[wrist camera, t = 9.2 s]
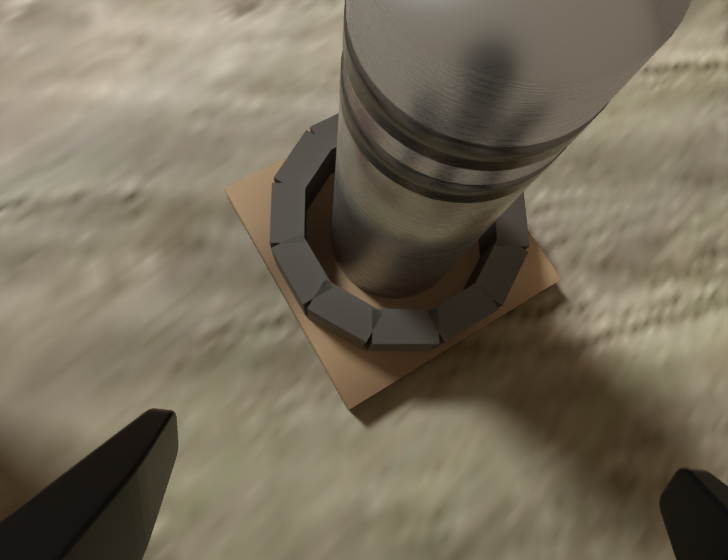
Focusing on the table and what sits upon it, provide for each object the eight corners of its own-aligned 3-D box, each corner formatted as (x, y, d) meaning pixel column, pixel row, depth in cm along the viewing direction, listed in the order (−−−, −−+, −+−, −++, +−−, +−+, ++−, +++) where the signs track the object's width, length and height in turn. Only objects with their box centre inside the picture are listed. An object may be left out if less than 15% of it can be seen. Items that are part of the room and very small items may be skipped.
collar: (550, 285, 20) (587, 264, 18) (347, 409, 18) (352, 409, 16) (425, 103, 22) (440, 58, 19) (228, 198, 20) (213, 164, 17)
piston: (479, 234, 20) (756, -64, 7) (400, 325, 18) (571, 157, 6) (386, 157, 20) (493, -246, 8) (304, 241, 19) (273, -79, 6)
